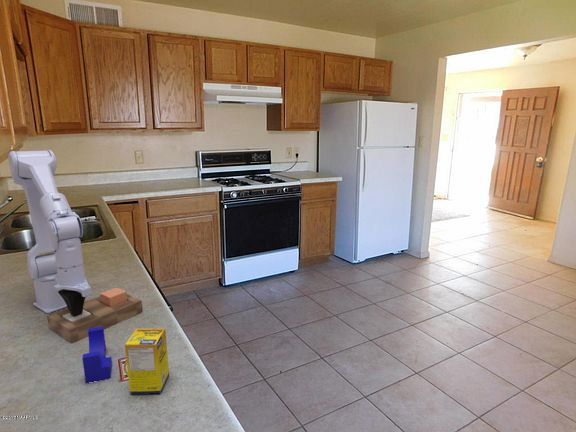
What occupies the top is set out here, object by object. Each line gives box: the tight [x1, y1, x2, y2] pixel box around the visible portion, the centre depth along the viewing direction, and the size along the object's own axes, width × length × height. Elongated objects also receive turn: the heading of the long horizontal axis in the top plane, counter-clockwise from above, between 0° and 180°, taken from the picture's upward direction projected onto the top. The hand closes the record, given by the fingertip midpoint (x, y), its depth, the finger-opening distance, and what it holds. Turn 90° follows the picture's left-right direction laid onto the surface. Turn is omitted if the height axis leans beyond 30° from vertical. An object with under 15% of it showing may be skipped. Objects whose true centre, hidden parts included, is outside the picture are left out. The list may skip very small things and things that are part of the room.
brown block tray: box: [46, 293, 143, 344], centre depth 99 cm, size 12×19×4 cm, turn 145°
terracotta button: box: [99, 287, 128, 307], centre depth 102 cm, size 5×5×4 cm
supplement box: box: [124, 327, 170, 395], centre depth 73 cm, size 6×6×11 cm
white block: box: [62, 309, 91, 323], centre depth 95 cm, size 5×5×4 cm
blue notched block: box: [82, 326, 113, 384], centre depth 80 cm, size 12×4×6 cm, turn 22°
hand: (76, 315), depth 95 cm, fingers closed, pressing on white block
